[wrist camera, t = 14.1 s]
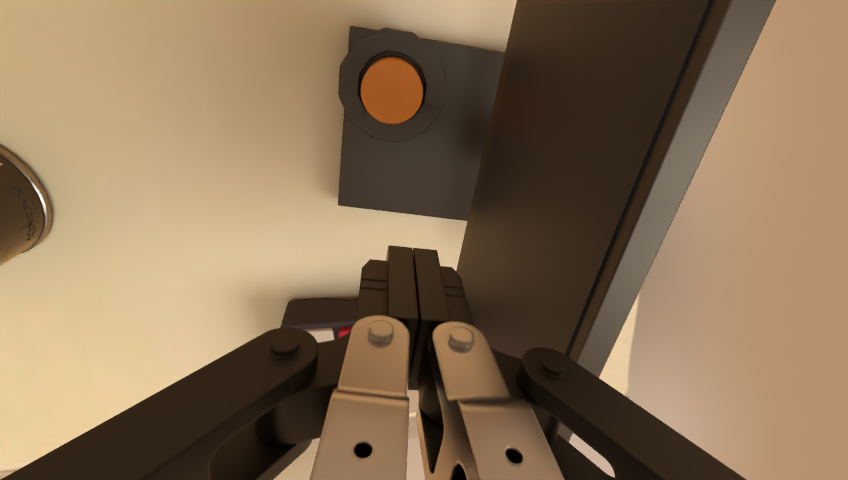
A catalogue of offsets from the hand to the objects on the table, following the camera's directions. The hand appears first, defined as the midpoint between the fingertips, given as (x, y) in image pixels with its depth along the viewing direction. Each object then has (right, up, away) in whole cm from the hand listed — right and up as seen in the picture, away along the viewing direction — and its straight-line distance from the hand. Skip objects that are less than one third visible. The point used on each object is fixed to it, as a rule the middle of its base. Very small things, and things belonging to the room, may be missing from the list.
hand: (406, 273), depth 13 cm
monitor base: (+2, +9, +17) cm, 19 cm away
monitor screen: (+4, +5, +10) cm, 12 cm away
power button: (-1, +10, +13) cm, 17 cm away
